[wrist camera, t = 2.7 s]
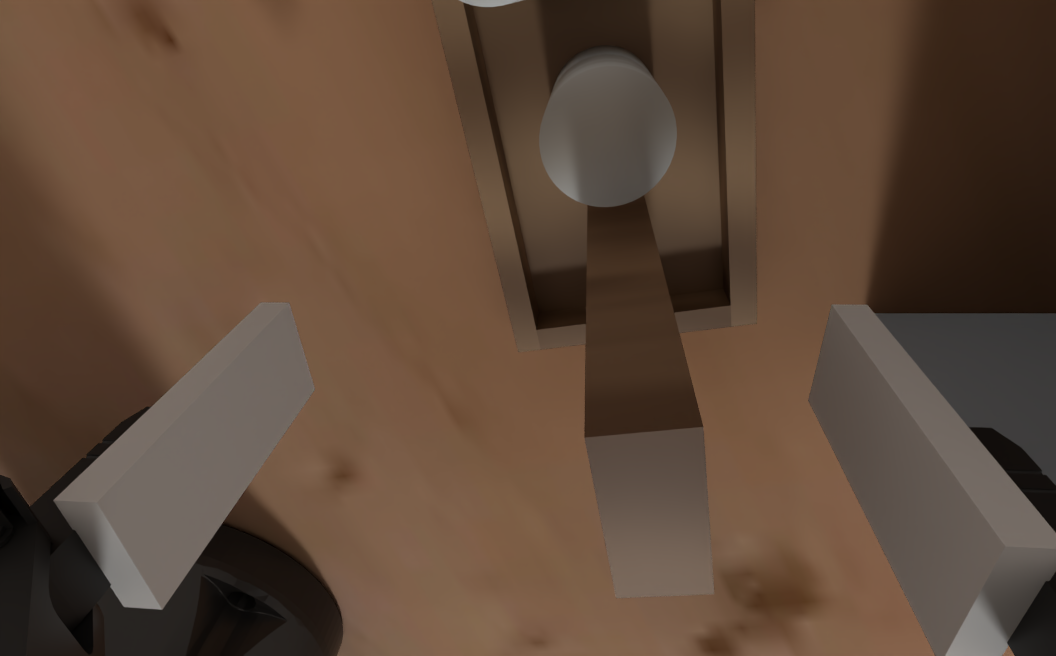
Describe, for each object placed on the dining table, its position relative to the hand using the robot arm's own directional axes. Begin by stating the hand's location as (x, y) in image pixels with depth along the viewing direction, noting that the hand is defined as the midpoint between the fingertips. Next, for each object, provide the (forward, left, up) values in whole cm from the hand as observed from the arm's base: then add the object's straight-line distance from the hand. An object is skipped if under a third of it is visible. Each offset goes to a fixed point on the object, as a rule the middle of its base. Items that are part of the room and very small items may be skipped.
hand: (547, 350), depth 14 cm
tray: (+1, +5, -7) cm, 9 cm away
